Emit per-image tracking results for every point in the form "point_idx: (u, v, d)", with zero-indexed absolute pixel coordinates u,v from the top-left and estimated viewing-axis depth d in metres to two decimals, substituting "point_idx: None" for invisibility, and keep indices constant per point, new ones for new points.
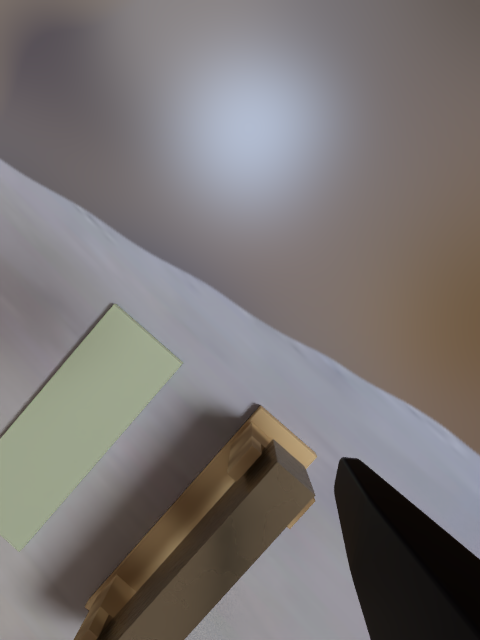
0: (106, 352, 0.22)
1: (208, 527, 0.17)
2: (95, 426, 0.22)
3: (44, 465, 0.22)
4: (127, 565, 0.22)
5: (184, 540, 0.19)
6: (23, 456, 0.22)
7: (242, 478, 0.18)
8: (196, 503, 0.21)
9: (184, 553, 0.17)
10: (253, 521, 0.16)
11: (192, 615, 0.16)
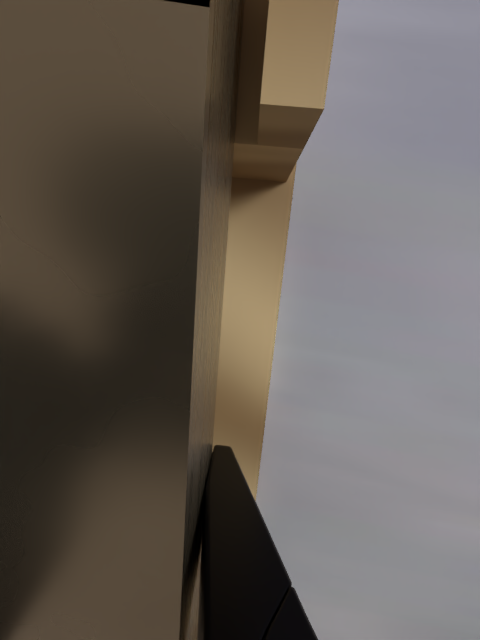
0: None
1: None
2: None
3: None
4: None
5: None
6: None
7: None
8: None
9: None
10: None
11: None
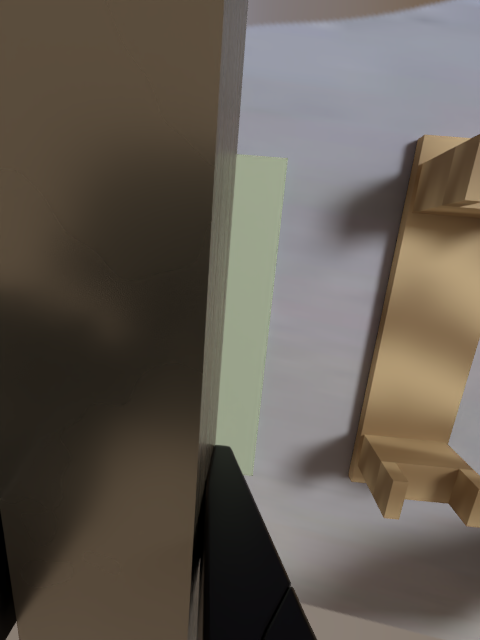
0: None
1: None
2: (238, 307, 0.17)
3: None
4: (370, 418, 0.18)
5: None
6: None
7: None
8: (408, 308, 0.16)
9: None
10: (58, 63, 0.03)
11: (151, 578, 0.04)
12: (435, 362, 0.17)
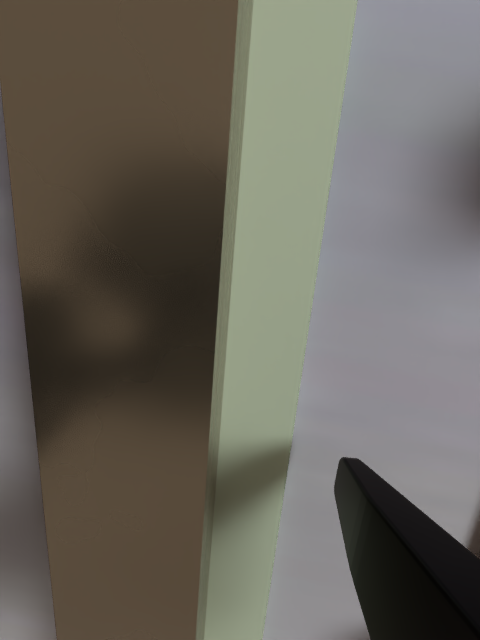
0: None
1: None
2: (228, 375, 0.07)
3: None
4: None
5: None
6: None
7: None
8: None
9: None
10: (102, 102, 0.03)
11: (169, 533, 0.05)
12: None
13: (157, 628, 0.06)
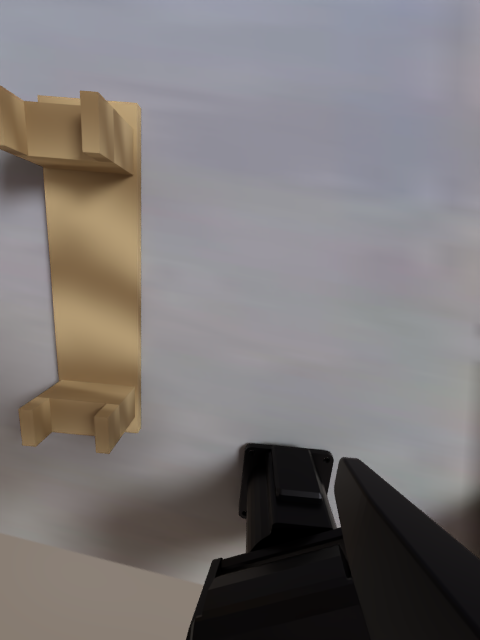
0: None
1: None
2: None
3: None
4: (62, 364, 0.19)
5: None
6: None
7: None
8: (67, 258, 0.18)
9: None
10: None
11: None
12: (105, 310, 0.18)
13: None
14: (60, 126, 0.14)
